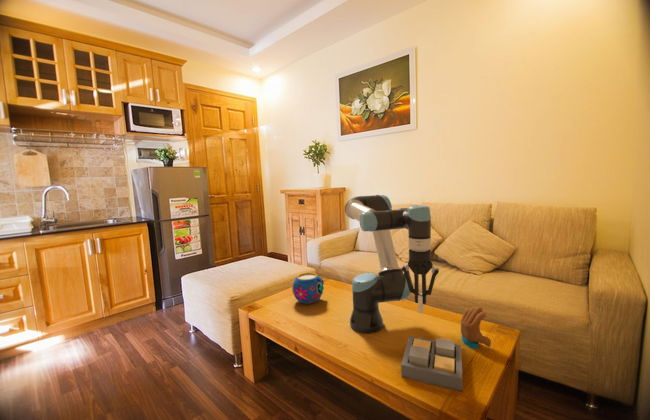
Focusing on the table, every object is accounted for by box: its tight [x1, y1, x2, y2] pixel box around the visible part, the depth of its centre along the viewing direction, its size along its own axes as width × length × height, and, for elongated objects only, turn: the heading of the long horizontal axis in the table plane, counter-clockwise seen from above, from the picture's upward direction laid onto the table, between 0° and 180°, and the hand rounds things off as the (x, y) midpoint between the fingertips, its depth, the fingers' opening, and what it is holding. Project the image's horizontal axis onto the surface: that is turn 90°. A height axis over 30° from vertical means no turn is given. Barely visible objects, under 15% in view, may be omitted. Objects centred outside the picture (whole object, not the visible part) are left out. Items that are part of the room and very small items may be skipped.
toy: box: [460, 306, 492, 350], centre depth 108 cm, size 12×7×15 cm, turn 5°
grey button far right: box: [435, 337, 455, 358], centre depth 99 cm, size 6×6×4 cm
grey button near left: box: [409, 345, 429, 367], centre depth 95 cm, size 6×6×4 cm
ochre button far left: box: [413, 338, 431, 353], centre depth 102 cm, size 6×6×4 cm
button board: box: [400, 335, 464, 393], centre depth 97 cm, size 18×18×4 cm
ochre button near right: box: [434, 355, 454, 373], centre depth 92 cm, size 6×6×4 cm
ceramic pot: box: [291, 272, 325, 304], centre depth 156 cm, size 18×18×15 cm
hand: (420, 311), depth 101 cm, fingers closed
